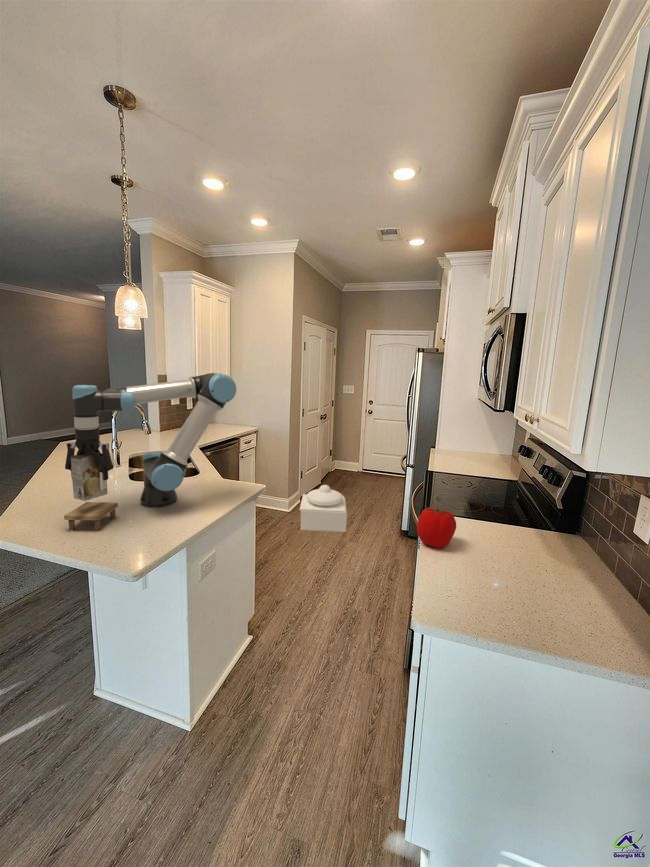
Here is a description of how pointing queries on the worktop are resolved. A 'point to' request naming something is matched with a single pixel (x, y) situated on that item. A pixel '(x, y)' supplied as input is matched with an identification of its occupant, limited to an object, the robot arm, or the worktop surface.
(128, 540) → the worktop surface
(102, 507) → the stool
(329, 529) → the white lidded dish
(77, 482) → the coffee box
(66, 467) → the robot arm
